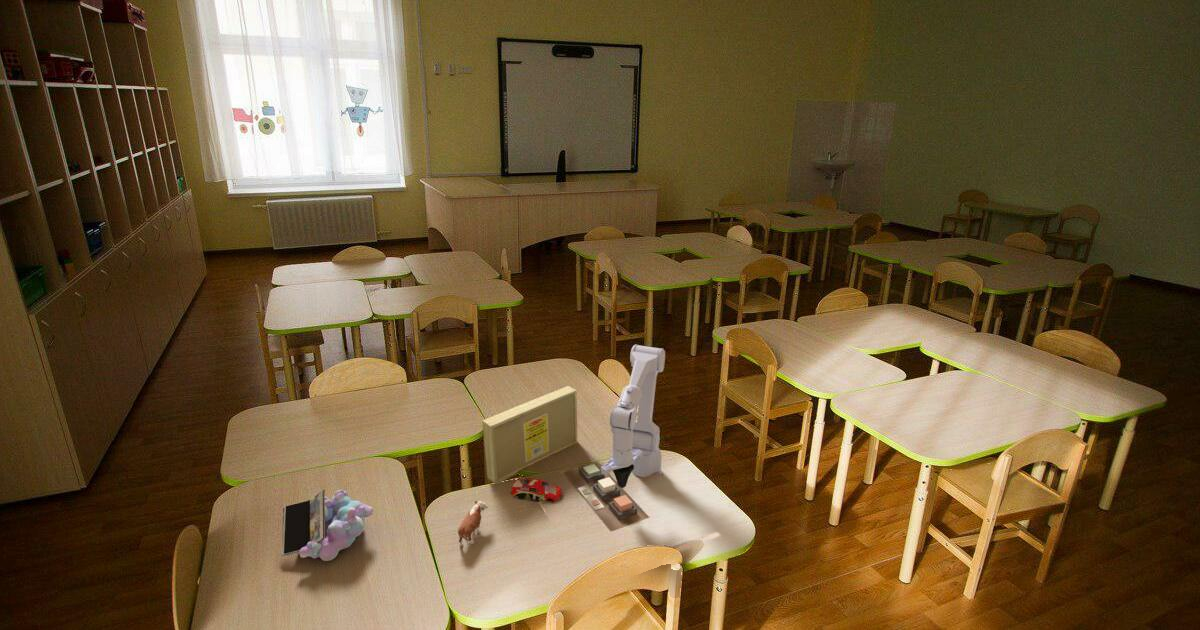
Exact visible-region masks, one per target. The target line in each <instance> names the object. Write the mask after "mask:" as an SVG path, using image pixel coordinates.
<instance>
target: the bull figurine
mask: <svg viewBox="0 0 1200 630" xmlns="http://www.w3.org/2000/svg"><path fill="white" fill-rule="evenodd" d="M474 504H475V505H474V506H472V508H471V509H470V510H469V511H468V513H467V514H466V515H465V516H464V519H463V520H462V522H461V524H460V526H459V527H458V529H457V534H458V536H459V540H458V543H459V547H463V546H464V544H463V539H464V540H465V543H466V544H467V545H469V544H471V545H473V544H475V541H474V540H473V539H472V534H473V532H475V533H477V534H480V533H481V530H480V524H481V521H482V514H481V513H482V512H483V511H485V510H487V509H488V508H489V505H488V504H486V502H484V501H482V500H479V501H478V500H475V501H474Z"/></svg>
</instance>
